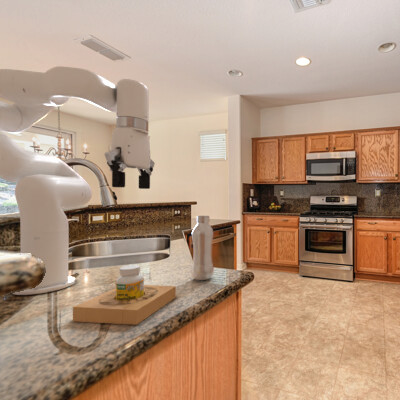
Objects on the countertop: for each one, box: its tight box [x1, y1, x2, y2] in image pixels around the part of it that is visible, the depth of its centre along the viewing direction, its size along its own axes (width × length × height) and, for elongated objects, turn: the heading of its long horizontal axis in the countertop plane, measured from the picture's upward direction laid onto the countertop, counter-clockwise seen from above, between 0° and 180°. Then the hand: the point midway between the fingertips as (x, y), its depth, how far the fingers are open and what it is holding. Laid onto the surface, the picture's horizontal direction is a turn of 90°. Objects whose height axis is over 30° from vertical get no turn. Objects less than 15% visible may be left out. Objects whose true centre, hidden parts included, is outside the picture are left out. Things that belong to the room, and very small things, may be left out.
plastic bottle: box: [191, 215, 215, 281], centre depth 80 cm, size 6×7×20 cm
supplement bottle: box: [115, 264, 145, 301], centre depth 59 cm, size 5×5×10 cm
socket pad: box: [72, 284, 177, 326], centre depth 59 cm, size 14×14×3 cm
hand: (132, 188), depth 71 cm, fingers open, 9 cm apart
